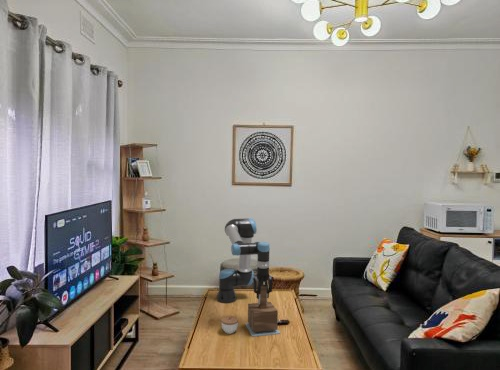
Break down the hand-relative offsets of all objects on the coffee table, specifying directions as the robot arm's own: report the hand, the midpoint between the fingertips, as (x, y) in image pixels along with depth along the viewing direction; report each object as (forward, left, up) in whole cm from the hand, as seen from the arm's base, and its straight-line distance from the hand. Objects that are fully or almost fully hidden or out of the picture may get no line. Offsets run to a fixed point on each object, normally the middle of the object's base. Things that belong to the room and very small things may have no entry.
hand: (262, 303), depth 228 cm
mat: (0, 0, -17) cm, 17 cm away
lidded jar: (-1, -21, -17) cm, 27 cm away
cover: (0, 0, -15) cm, 15 cm away
